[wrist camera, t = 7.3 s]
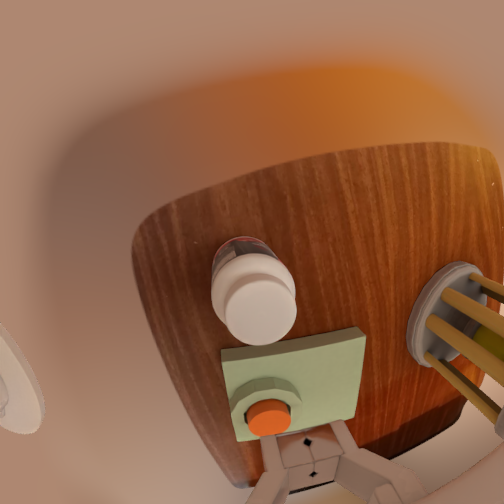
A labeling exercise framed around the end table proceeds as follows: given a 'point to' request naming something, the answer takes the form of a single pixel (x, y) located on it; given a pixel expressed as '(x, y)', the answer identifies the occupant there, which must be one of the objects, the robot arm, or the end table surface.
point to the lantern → (460, 331)
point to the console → (296, 378)
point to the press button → (268, 417)
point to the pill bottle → (252, 291)
